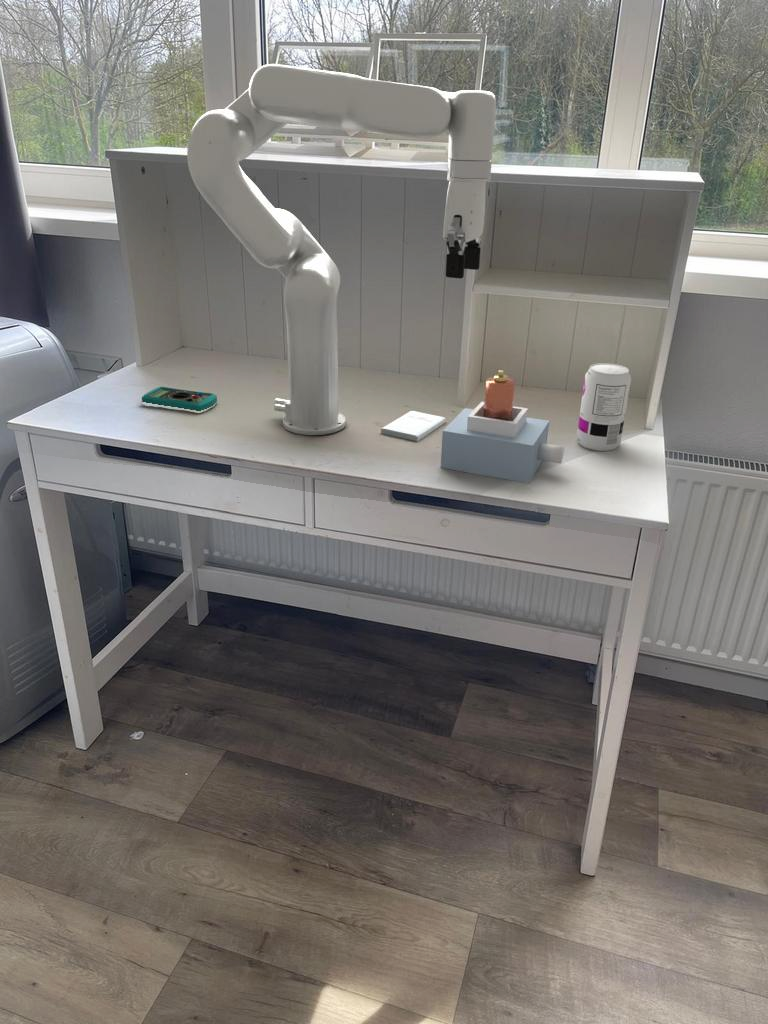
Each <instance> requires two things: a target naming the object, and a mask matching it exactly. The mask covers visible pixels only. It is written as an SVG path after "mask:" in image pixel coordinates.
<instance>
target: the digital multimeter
mask: <svg viewBox="0 0 768 1024" xmlns="http://www.w3.org/2000/svg"><path fill="white" fill-rule="evenodd" d="M142 402H146V403H152V404H158V405H164V406H171V407H178V408H184V409H190V410H196V411H201V410H204V409H207V408H209V407H211V406H213V405H214V404H215V403H216V402H217V403H218V397H217V394H214V393H211V392H203V391H195V390H194V391H193V390H186V389H179V388H172V387H166V386H158V387H156V388H153V389H152V390H149V391H148V392H147V393H145V394H144V395H142V397H141V403H142Z"/></svg>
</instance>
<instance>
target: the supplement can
mask: <svg viewBox="0 0 768 1024" xmlns="http://www.w3.org/2000/svg"><path fill="white" fill-rule="evenodd" d="M631 381H632V377H631V374H630V370H629V368H628V367H626V366H623V365H620V364H617V363H616V364H615V363H607V362H600V363H599V362H598V363H593V364H591V365H590V366H589V369H588V370H587V371H586V373H585V376H584V382H583V389H582V395H581V404H580V411H579V416H578V424H577V431H576V441H577V442H578V443H579V445H580V446H581V447H582V448H586V449H588V450H591V451H596V452H597V451H598V452H610V451H612V450H615V449H616V448H618V447H619V446H620V445H621V441H622V438H623V436H622V435H623V430H624V423H625V417H626V411H627V405H628V400H629V394H630V387H631Z"/></svg>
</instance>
